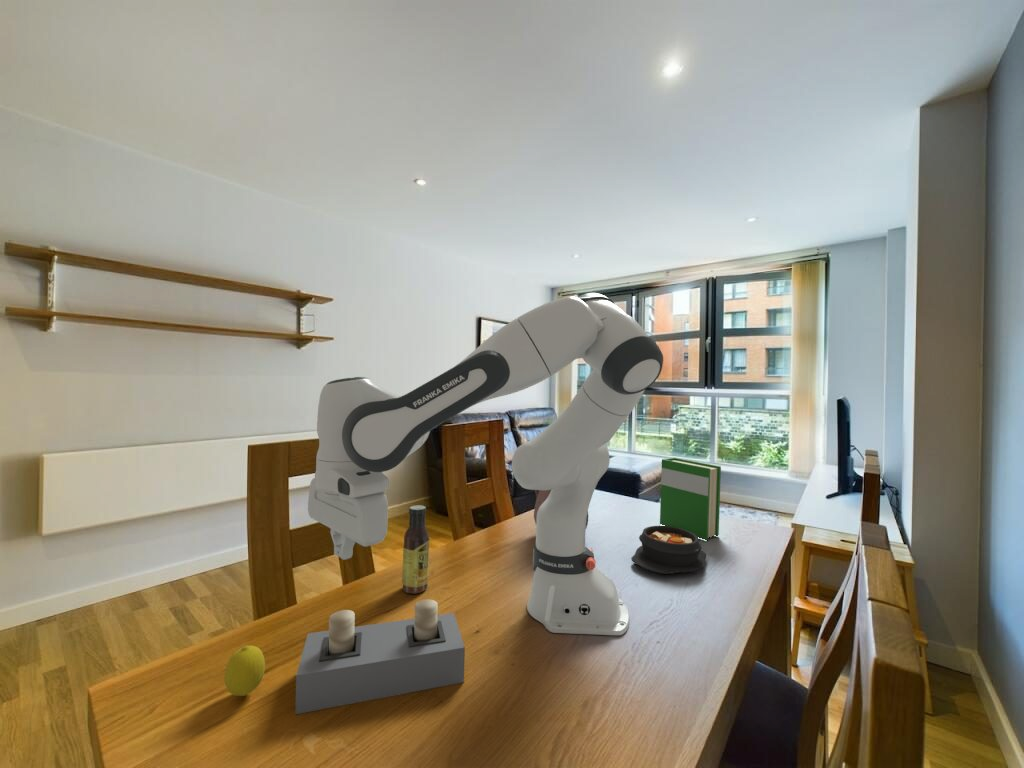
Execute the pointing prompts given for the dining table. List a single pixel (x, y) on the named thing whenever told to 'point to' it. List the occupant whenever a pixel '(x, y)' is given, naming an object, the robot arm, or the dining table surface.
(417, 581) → the sauce bottle
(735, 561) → the dining table surface
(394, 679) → the peg block
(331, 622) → the peg outer
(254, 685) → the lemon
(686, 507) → the hardback book
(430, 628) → the peg inner
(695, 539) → the casserole
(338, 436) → the robot arm
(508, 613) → the dining table surface
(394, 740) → the dining table surface
